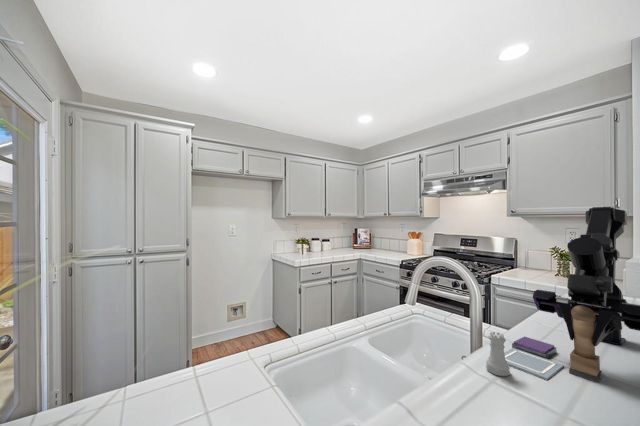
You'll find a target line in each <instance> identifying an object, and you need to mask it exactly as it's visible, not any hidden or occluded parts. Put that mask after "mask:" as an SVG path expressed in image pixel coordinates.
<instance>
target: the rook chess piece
mask: <svg viewBox="0 0 640 426" xmlns="http://www.w3.org/2000/svg"><path fill="white" fill-rule="evenodd" d="M488 339H489V340H490V342H489V346H490V351H489V356H488V357H487V358H488V359H486V360H485V363H486V365H485V368H486V370H487V371H488V372H489V373H490V374H492V375H495V376H497V377H507V376H509V375H510V374H511V371H510V368H511V366H509V365H508V364H507V361H506V359H505V355H504V353H505V348H506V346H505V345H504V344H505V343H506V341H507V340H506V338H505V335H504V334H503V333H500V332H495V331H492V332H489V335H488Z"/></svg>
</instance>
